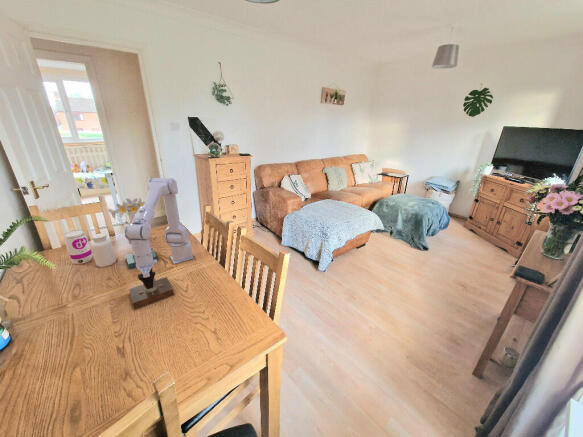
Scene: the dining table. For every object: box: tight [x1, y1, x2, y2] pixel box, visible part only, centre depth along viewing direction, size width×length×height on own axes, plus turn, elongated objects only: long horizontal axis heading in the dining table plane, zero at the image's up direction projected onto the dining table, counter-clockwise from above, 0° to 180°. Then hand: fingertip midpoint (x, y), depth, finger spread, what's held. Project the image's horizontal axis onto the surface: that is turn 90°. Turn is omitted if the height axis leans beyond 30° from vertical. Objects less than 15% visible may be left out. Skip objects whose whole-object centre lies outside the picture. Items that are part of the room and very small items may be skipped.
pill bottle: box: [89, 232, 117, 268], centre depth 114 cm, size 8×8×15 cm
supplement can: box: [62, 229, 94, 265], centre depth 115 cm, size 8×8×15 cm
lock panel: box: [128, 276, 175, 310], centre depth 97 cm, size 14×10×3 cm
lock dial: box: [142, 277, 157, 293], centre depth 96 cm, size 4×4×4 cm
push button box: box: [125, 248, 158, 270], centre depth 119 cm, size 12×10×4 cm
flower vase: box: [106, 197, 145, 225], centre depth 133 cm, size 13×18×25 cm
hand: (149, 282), depth 95 cm, fingers open, 7 cm apart
